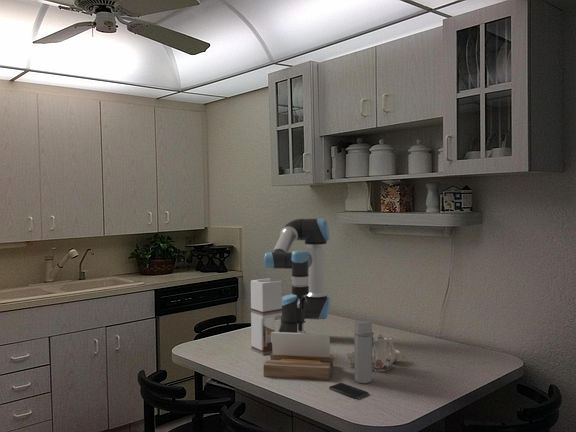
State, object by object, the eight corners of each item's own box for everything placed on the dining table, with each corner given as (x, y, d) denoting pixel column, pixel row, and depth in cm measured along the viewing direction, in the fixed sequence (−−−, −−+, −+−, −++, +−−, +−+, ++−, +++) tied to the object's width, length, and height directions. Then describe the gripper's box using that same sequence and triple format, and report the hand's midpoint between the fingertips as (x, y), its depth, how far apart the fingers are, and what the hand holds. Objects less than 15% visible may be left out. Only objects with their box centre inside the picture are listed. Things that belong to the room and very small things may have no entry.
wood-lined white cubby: (263, 355, 249) (262, 283, 248) (251, 349, 258) (250, 280, 256) (282, 350, 256) (281, 280, 255) (270, 345, 264) (269, 278, 263)
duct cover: (272, 354, 233) (273, 353, 234) (329, 357, 228) (330, 356, 229) (271, 332, 230) (271, 331, 231) (329, 335, 225) (329, 334, 226)
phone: (356, 398, 193) (327, 387, 205) (356, 401, 193) (327, 389, 205) (370, 392, 198) (341, 382, 210) (370, 395, 198) (341, 384, 210)
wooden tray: (272, 362, 237) (272, 352, 237) (333, 366, 232) (333, 355, 232) (263, 376, 220) (263, 364, 219) (328, 380, 214) (328, 368, 214)
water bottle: (358, 385, 208) (358, 324, 207) (351, 378, 216) (351, 319, 215) (379, 382, 211) (379, 322, 210) (371, 376, 218) (371, 318, 217)
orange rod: (280, 364, 232) (280, 357, 232) (322, 366, 229) (322, 359, 228) (278, 366, 229) (278, 359, 229) (321, 368, 226) (321, 361, 226)
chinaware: (394, 361, 243) (392, 325, 244) (415, 368, 228) (412, 330, 229) (341, 369, 233) (339, 332, 234) (359, 377, 217) (357, 337, 218)
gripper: (294, 282, 236) (294, 333, 237) (289, 287, 223) (289, 341, 224) (310, 283, 234) (311, 334, 235) (306, 288, 222) (306, 342, 223)
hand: (300, 337), depth 230 cm, fingers closed
